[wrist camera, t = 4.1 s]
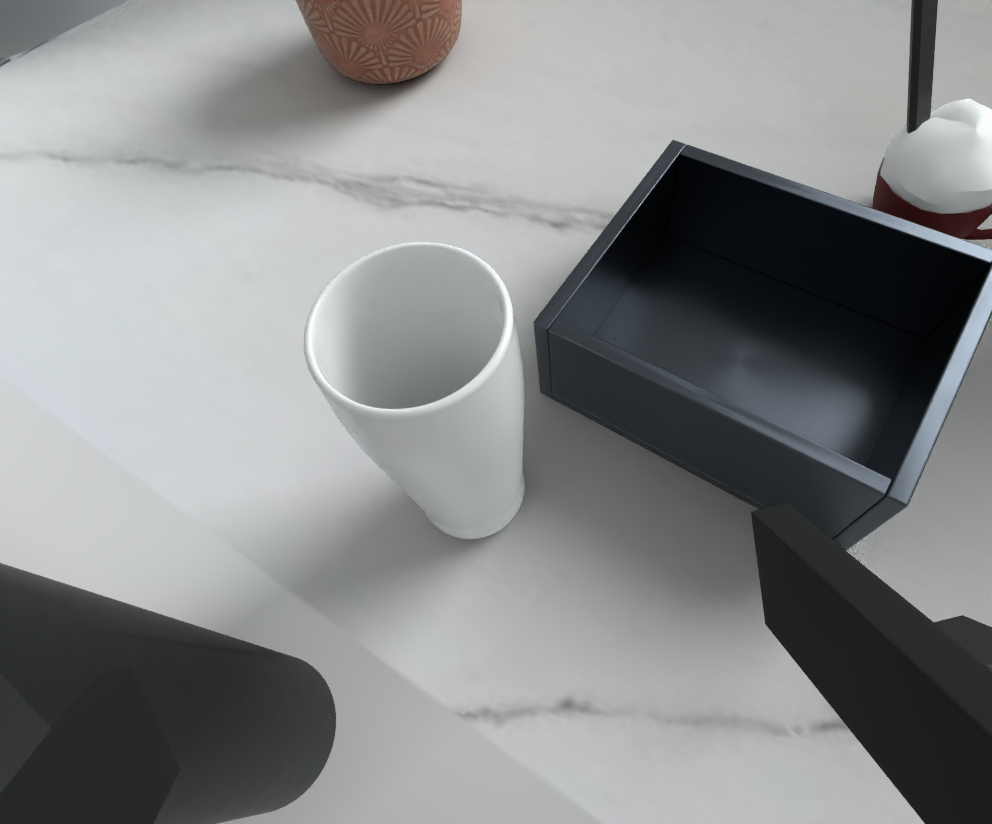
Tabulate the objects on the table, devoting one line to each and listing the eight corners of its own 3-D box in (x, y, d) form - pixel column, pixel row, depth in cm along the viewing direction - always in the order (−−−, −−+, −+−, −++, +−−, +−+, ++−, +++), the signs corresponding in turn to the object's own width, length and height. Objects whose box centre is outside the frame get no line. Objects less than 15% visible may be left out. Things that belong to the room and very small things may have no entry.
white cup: (498, 581, 31) (441, 457, 17) (384, 519, 33) (255, 365, 20) (562, 465, 33) (554, 277, 20) (452, 413, 35) (378, 213, 22)
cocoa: (1011, 255, 36) (1193, 51, 25) (912, 293, 36) (1054, 101, 25) (905, 150, 40) (1021, -62, 30) (815, 182, 40) (901, -21, 29)
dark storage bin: (539, 392, 35) (532, 322, 29) (658, 228, 40) (672, 138, 34) (842, 554, 30) (908, 507, 24) (941, 341, 34) (1017, 258, 28)
